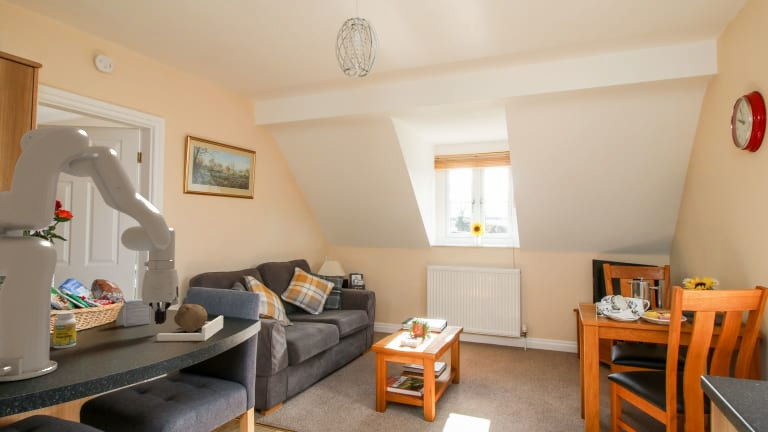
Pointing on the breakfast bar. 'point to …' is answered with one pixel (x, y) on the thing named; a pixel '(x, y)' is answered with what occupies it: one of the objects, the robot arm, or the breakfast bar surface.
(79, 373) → the breakfast bar surface
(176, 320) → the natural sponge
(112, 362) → the breakfast bar surface
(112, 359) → the breakfast bar surface
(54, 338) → the supplement bottle
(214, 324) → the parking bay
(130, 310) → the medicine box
